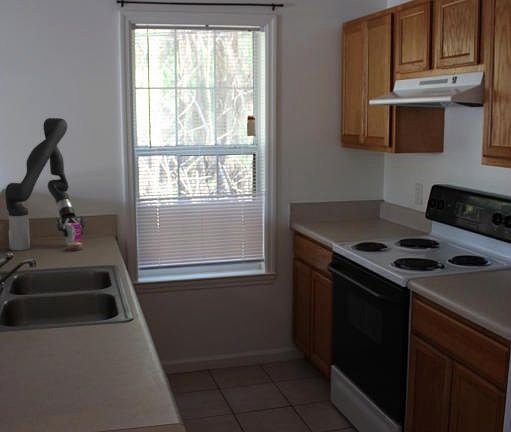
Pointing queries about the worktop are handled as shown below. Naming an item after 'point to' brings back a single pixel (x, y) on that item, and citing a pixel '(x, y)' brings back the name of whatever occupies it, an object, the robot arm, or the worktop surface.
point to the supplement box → (73, 232)
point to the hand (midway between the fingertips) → (74, 235)
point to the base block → (74, 246)
